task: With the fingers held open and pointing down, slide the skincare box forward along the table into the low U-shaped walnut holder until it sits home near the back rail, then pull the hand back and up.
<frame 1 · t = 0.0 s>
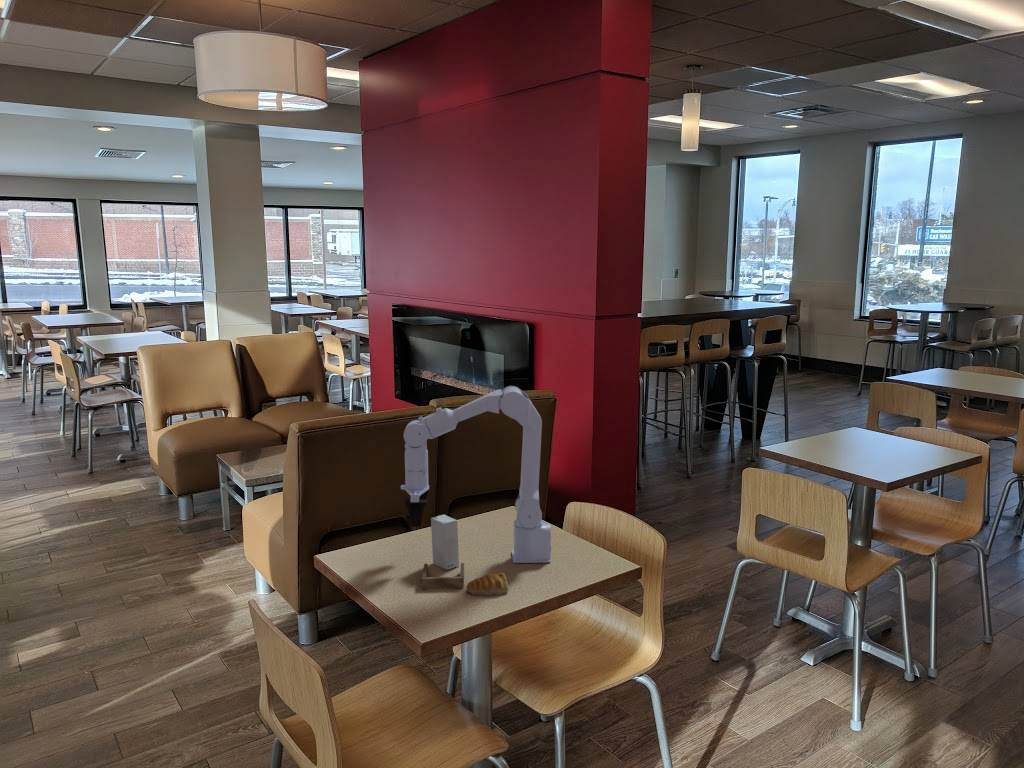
hand: (417, 521, 188), 10 cm above the table, tool pointing down, fingers open, 7 cm apart
bottle holder: (443, 580, 177), on the table
pastry: (490, 591, 171), on the table
skincare box: (445, 565, 186), on the table
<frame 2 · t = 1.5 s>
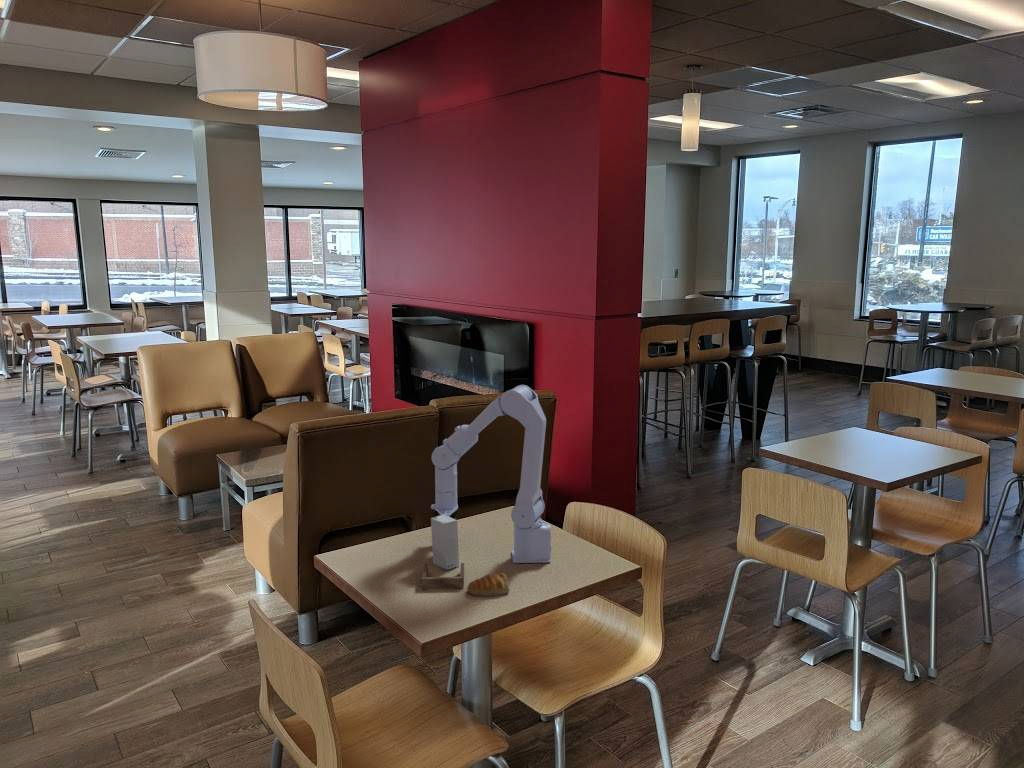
hand: (446, 538, 197), 2 cm above the table, tool pointing down, fingers open, 7 cm apart
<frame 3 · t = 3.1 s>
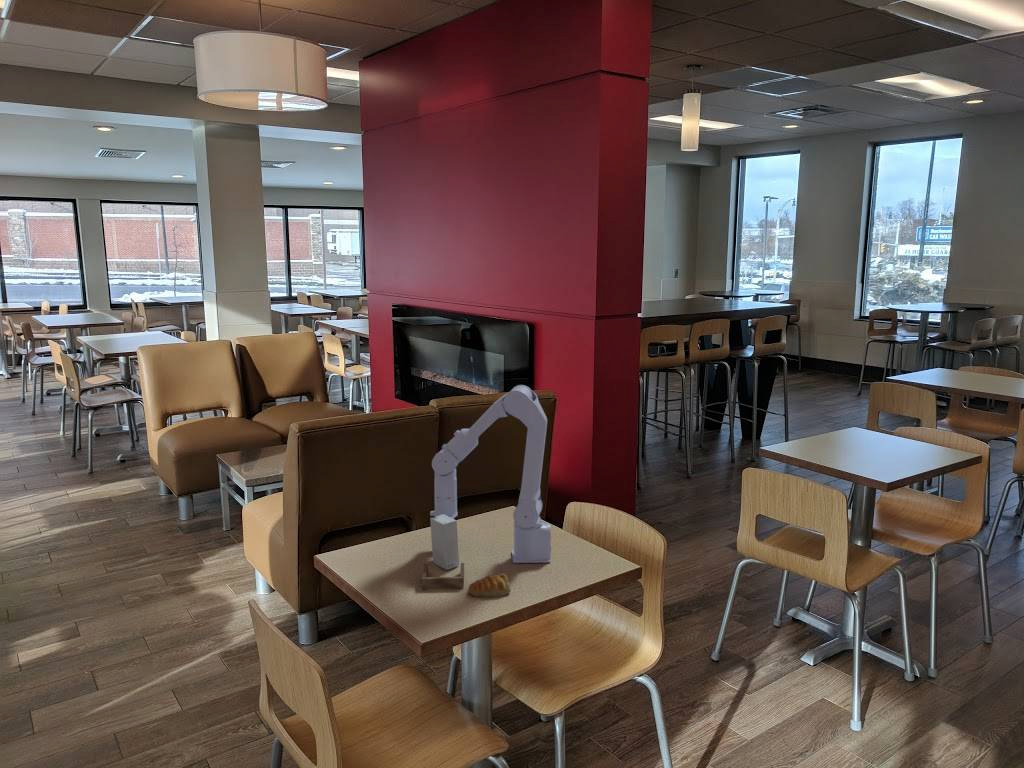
hand: (446, 546, 194), 2 cm above the table, tool pointing down, fingers open, 6 cm apart
skincare box: (445, 565, 186), on the table, touching gripper
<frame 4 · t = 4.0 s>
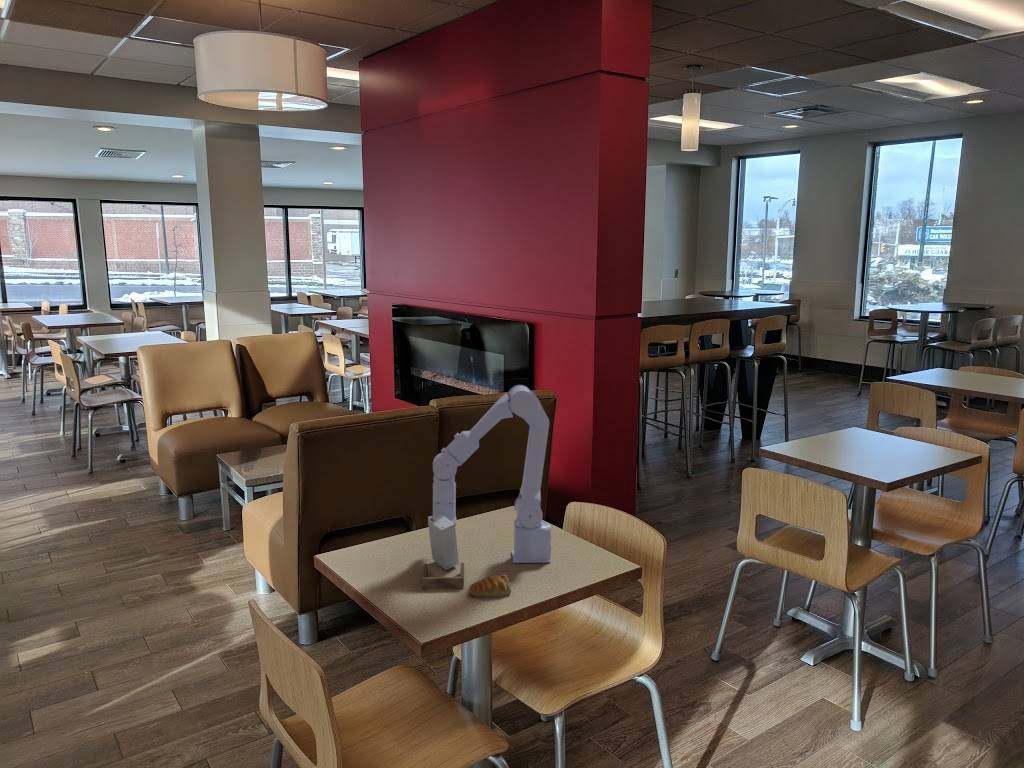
hand: (444, 552, 189), 2 cm above the table, tool pointing down, fingers closed
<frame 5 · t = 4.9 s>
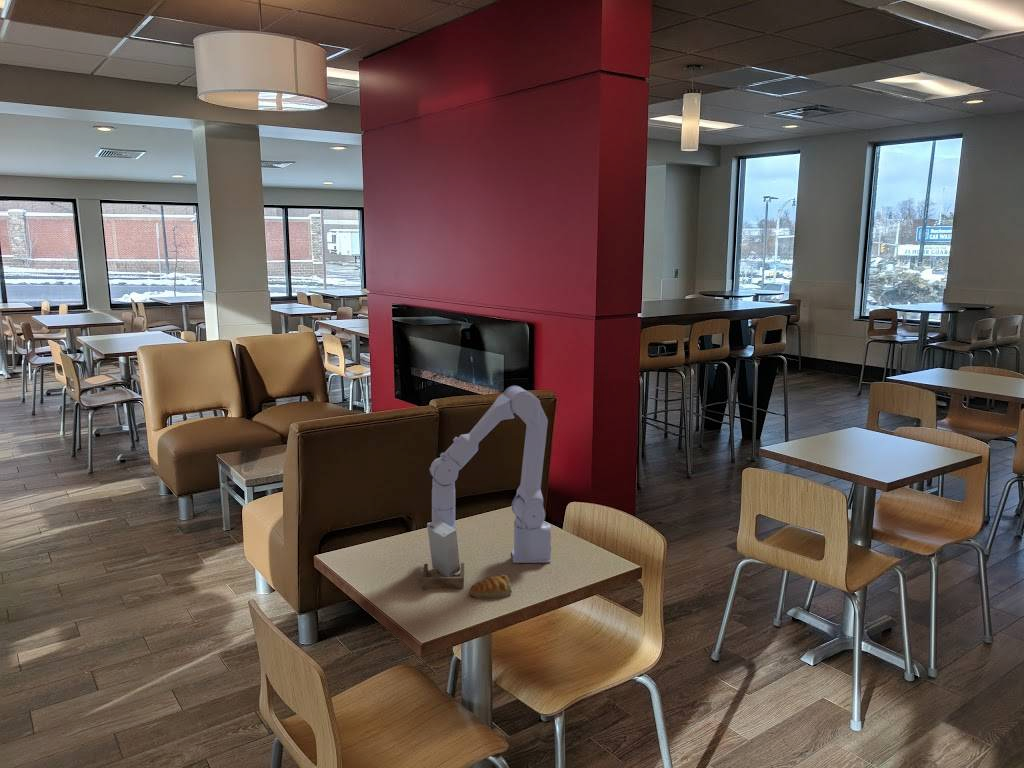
hand: (443, 559, 184), 2 cm above the table, tool pointing down, fingers closed
skincare box: (445, 570, 181), point 1 cm above the table, touching gripper
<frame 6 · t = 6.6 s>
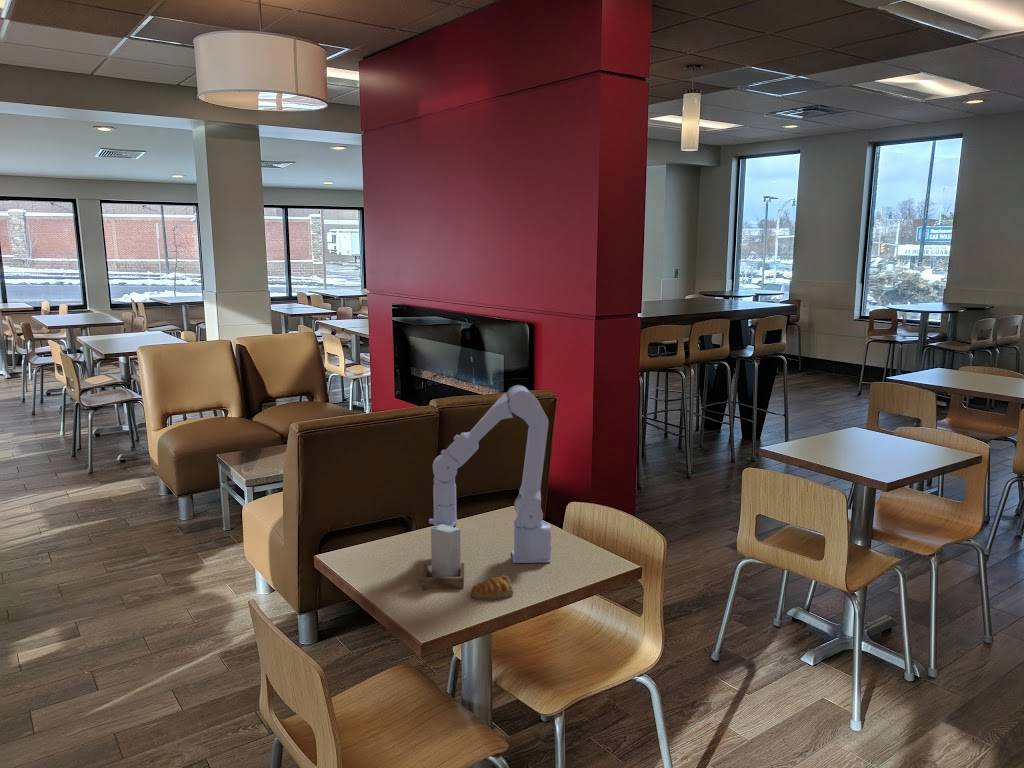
hand: (445, 554, 188), 2 cm above the table, tool pointing down, fingers open, 7 cm apart
skincare box: (445, 577, 178), resting in bottle holder
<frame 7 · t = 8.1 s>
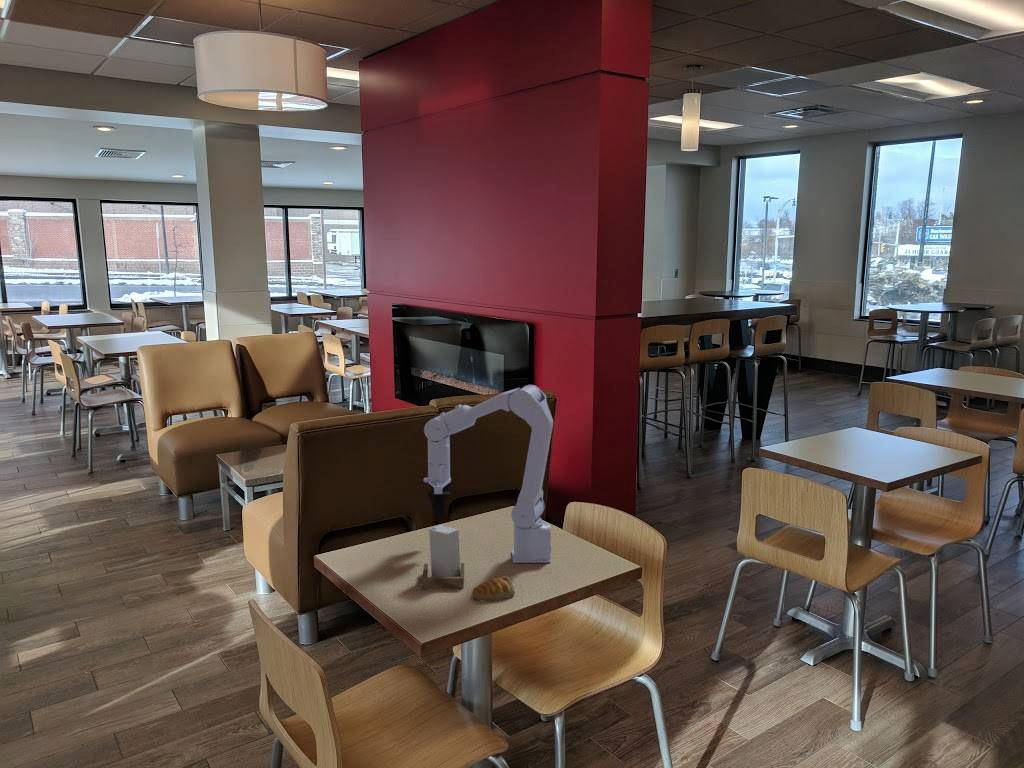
hand: (439, 512, 196), 9 cm above the table, tool pointing down, fingers open, 7 cm apart
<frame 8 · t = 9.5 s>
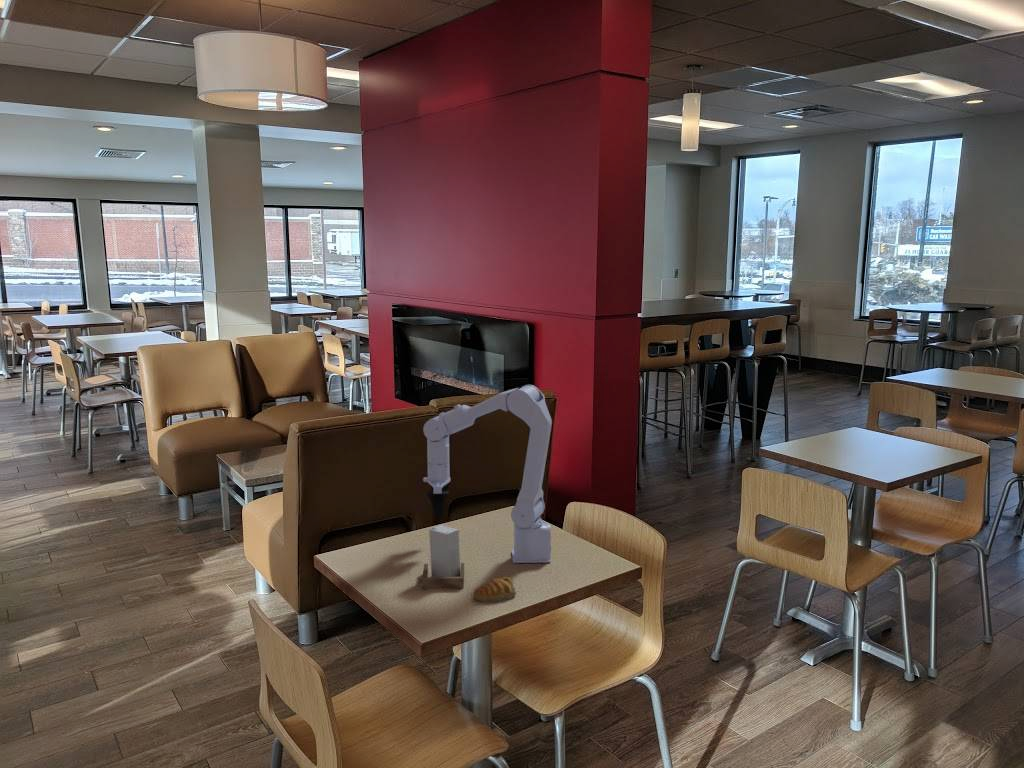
hand: (439, 511, 197), 9 cm above the table, tool pointing down, fingers open, 7 cm apart
at the end: skincare box 1.6 cm off-centre on the bottle holder, point 0.0 cm above the bottle holder's base; skincare box tilted 0°; skincare box moved 7.4 cm from its start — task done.
